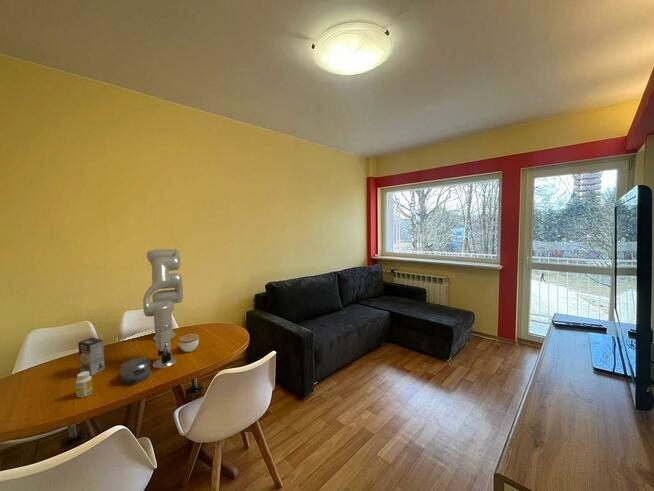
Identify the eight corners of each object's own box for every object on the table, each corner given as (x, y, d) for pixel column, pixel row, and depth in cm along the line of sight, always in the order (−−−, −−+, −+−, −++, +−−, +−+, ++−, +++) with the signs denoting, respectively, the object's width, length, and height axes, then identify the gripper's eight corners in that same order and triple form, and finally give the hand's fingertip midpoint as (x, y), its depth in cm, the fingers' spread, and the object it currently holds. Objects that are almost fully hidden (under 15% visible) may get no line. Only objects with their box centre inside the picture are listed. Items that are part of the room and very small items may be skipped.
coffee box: (79, 372, 137) (77, 342, 136) (94, 366, 143) (91, 337, 142) (91, 375, 134) (89, 344, 133) (105, 369, 140) (103, 339, 139)
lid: (150, 363, 147) (149, 353, 146) (172, 356, 155) (172, 346, 154) (156, 371, 139) (155, 360, 139) (179, 363, 147) (178, 353, 147)
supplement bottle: (77, 399, 117) (75, 378, 116) (75, 394, 120) (73, 374, 119) (93, 393, 121) (92, 373, 120) (91, 388, 124) (89, 368, 123)
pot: (117, 375, 135) (116, 362, 134) (146, 366, 143) (145, 353, 143) (125, 389, 123) (124, 375, 123) (155, 378, 132) (154, 365, 132)
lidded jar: (203, 346, 167) (202, 331, 166) (192, 354, 156) (192, 339, 155) (186, 345, 168) (186, 330, 167) (175, 353, 157) (174, 338, 156)
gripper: (150, 325, 148) (152, 355, 150) (159, 334, 136) (161, 366, 138) (165, 321, 154) (167, 350, 155) (176, 329, 142) (177, 361, 143)
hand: (164, 358), depth 147 cm, fingers open, 9 cm apart
